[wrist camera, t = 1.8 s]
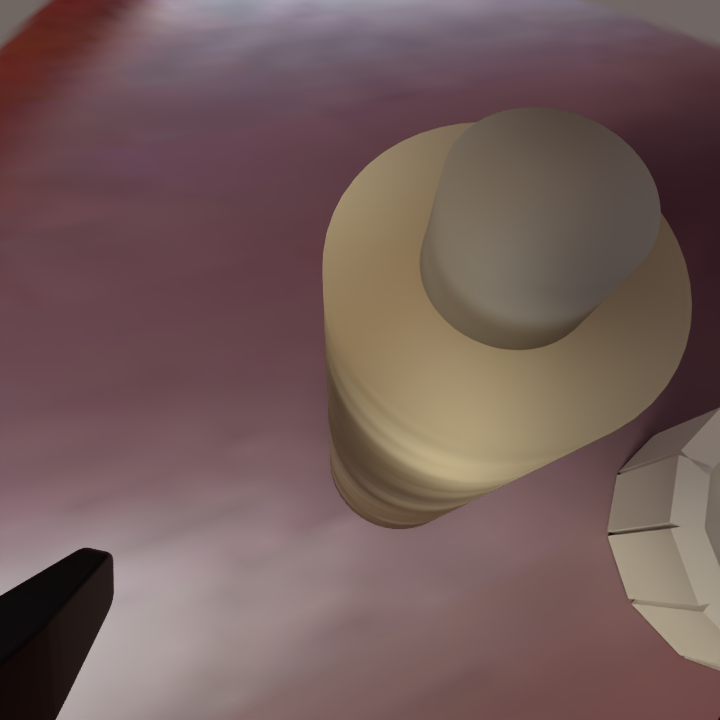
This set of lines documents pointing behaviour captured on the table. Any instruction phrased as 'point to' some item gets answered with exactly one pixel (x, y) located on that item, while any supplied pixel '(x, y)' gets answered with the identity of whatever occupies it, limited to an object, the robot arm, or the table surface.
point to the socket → (673, 535)
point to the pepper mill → (493, 309)
